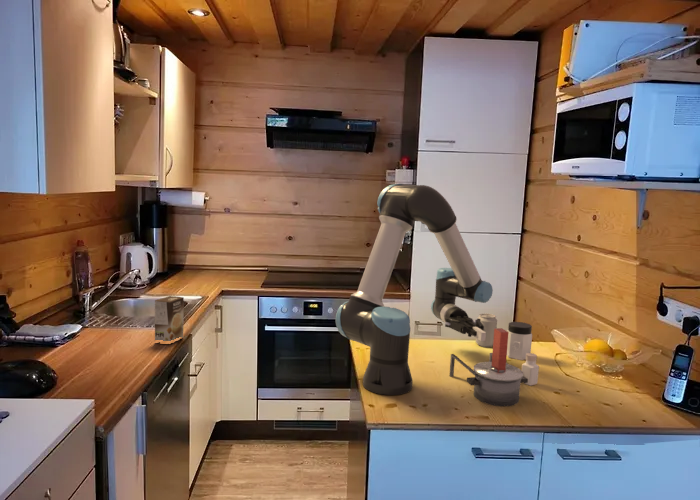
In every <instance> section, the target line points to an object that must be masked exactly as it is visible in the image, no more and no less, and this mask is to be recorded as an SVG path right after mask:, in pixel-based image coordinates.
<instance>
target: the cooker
mask: <svg viewBox="0 0 700 500" xmlns="http://www.w3.org/2000/svg"><path fill="white" fill-rule="evenodd" d="M492 353H493V352H489V356H488V357H489V358H488V362H492ZM455 361H457V362H458V363H460V365H461V366H462V367H464V368H465V369H467V371H469V372H470V373H471V374H472V375H473V376H474V377H471V376H470V377H466V383H468V384H469V385H470V386H473V396H474V398H475V399H476V400H478V401H480V402H481V403H484V404H486V405H491V406H495V407H512V406H516V405H518V403H520V402H519V401H520V391H521V384H524V383H528V379H527V378H526V377H524V376H523V377H522V378H521V379H520V380H517V381H508V382H506V381H496V380H491V379H487V378H484V377H481V376H479V375H478V374H476V373H475V372H474V369H472V368H471V367H470V366H469V365H468V364H467V363H465V362H464V361H463V360H461V359H460V358H459V357H458V356H457V355H456V354H454V353H450V362H449V377H450V378H451V377H454V375H455ZM506 364H509V363H507V362H506Z"/></svg>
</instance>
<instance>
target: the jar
mask: <svg viewBox="0 0 700 500" xmlns="http://www.w3.org/2000/svg"><path fill="white" fill-rule="evenodd" d="M532 330H533V327H532V324H530V323H527V322H521V321H510V322H509V323H508V327H507V330H506V331H507V332H509V333H508V345H507V358H509V359H514V360H518V361H524V360H525V361H526V354H527V353H532V340H533V333H532Z"/></svg>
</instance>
